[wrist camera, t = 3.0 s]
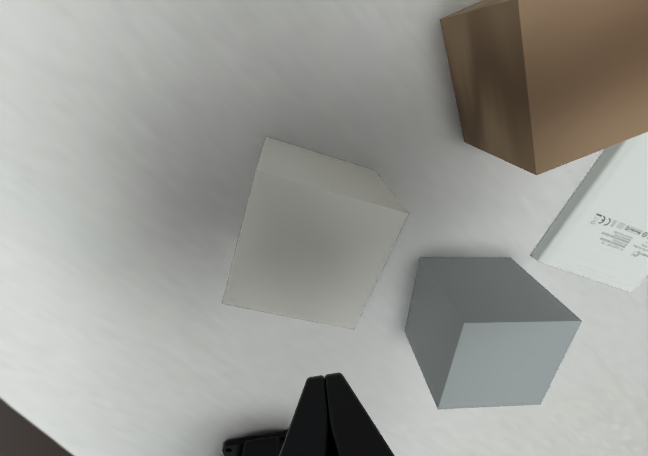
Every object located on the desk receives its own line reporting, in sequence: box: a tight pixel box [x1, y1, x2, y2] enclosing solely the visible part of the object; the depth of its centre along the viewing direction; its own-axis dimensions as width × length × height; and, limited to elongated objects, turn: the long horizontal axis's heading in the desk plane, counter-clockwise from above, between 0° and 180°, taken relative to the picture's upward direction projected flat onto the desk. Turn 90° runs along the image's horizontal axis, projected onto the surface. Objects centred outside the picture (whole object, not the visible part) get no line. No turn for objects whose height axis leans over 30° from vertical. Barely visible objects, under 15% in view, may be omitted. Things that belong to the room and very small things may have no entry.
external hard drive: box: [531, 132, 648, 292], centre depth 20 cm, size 2×8×12 cm
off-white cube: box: [222, 137, 408, 330], centre depth 16 cm, size 6×6×6 cm
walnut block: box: [440, 0, 648, 175], centre depth 14 cm, size 6×6×6 cm
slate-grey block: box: [405, 257, 582, 409], centre depth 20 cm, size 6×6×6 cm
